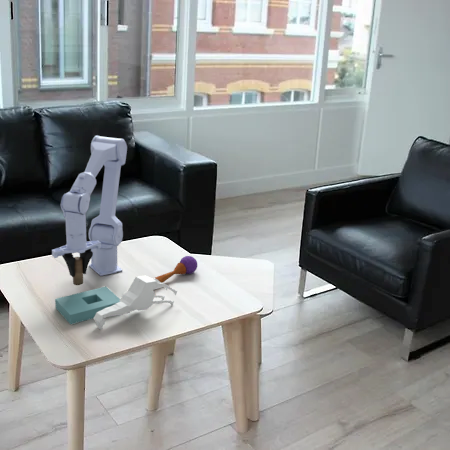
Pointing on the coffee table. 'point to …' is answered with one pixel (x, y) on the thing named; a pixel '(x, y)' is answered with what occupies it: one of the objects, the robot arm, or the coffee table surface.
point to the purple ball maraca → (181, 268)
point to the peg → (78, 271)
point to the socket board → (85, 304)
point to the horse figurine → (134, 299)
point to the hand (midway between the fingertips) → (77, 274)
